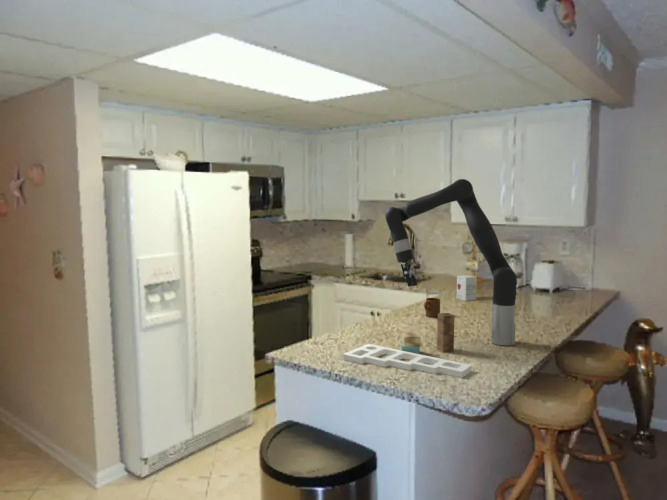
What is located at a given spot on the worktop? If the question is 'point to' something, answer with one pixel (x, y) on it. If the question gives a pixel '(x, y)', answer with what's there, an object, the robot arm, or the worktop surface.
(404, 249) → the robot arm
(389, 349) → the holder
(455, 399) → the worktop surface
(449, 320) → the walnut column
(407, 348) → the tower base
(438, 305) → the mug
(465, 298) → the supplement box
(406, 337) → the tower mid
